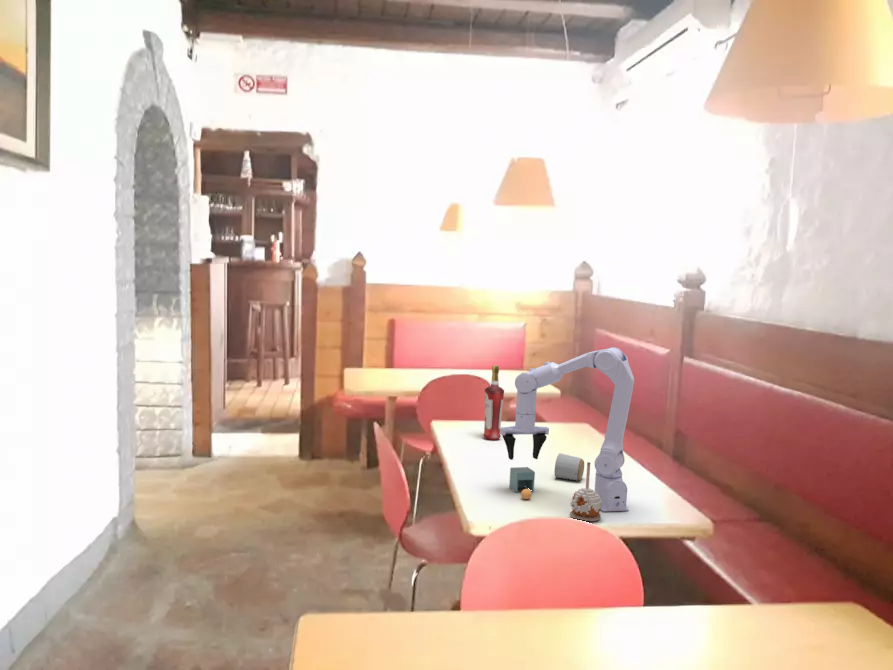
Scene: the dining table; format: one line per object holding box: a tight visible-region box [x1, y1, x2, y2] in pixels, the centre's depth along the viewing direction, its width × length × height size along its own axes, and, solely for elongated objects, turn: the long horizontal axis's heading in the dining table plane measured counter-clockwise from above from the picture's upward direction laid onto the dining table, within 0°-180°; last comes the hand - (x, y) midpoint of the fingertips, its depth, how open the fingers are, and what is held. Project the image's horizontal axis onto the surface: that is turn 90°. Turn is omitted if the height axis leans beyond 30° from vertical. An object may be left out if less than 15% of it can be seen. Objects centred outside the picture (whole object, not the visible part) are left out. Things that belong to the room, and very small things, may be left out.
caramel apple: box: [569, 461, 602, 522], centre depth 198 cm, size 8×8×15 cm
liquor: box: [482, 365, 505, 441], centre depth 285 cm, size 7×7×28 cm
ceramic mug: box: [554, 452, 585, 482], centre depth 236 cm, size 11×8×8 cm
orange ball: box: [520, 488, 533, 500], centre depth 212 cm, size 3×3×3 cm
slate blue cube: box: [508, 466, 536, 493], centre depth 221 cm, size 6×6×6 cm
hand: (523, 458), depth 220 cm, fingers open, 7 cm apart
